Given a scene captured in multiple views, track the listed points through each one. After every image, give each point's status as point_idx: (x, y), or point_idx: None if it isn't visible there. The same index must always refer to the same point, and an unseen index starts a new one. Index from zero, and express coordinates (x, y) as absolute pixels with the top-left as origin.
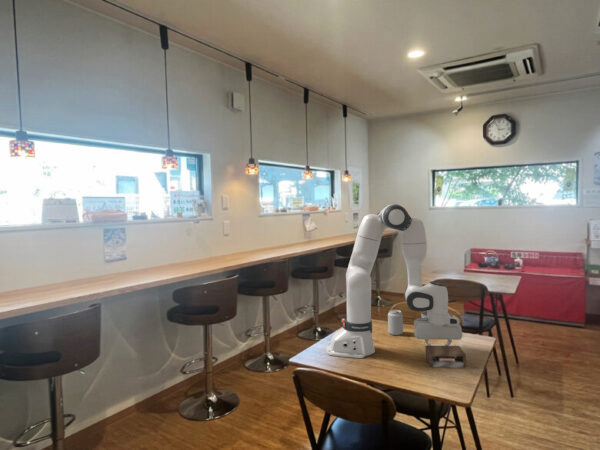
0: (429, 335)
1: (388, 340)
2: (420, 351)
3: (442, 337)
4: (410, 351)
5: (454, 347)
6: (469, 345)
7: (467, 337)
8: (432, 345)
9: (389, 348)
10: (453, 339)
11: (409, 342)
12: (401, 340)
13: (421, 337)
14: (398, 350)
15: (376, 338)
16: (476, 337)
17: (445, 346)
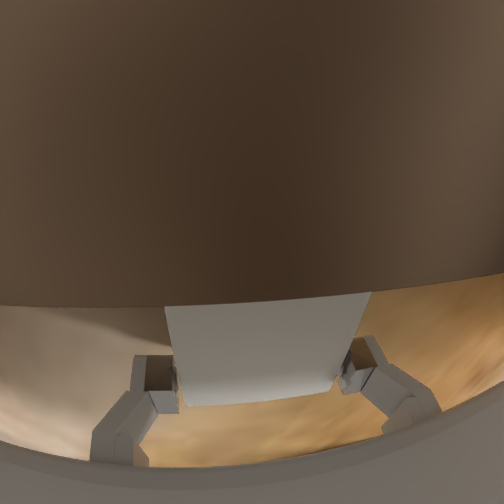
0: (440, 466)
1: (435, 397)
2: (388, 323)
3: (238, 496)
4: (446, 310)
5: (2, 208)
6: (22, 406)
7: (55, 452)
8: (316, 383)
9: (496, 324)
10: (62, 457)
11: (365, 411)
12: (386, 416)
13: (496, 405)
14: (485, 310)
15: (457, 396)
16: (24, 445)
17: (243, 263)
